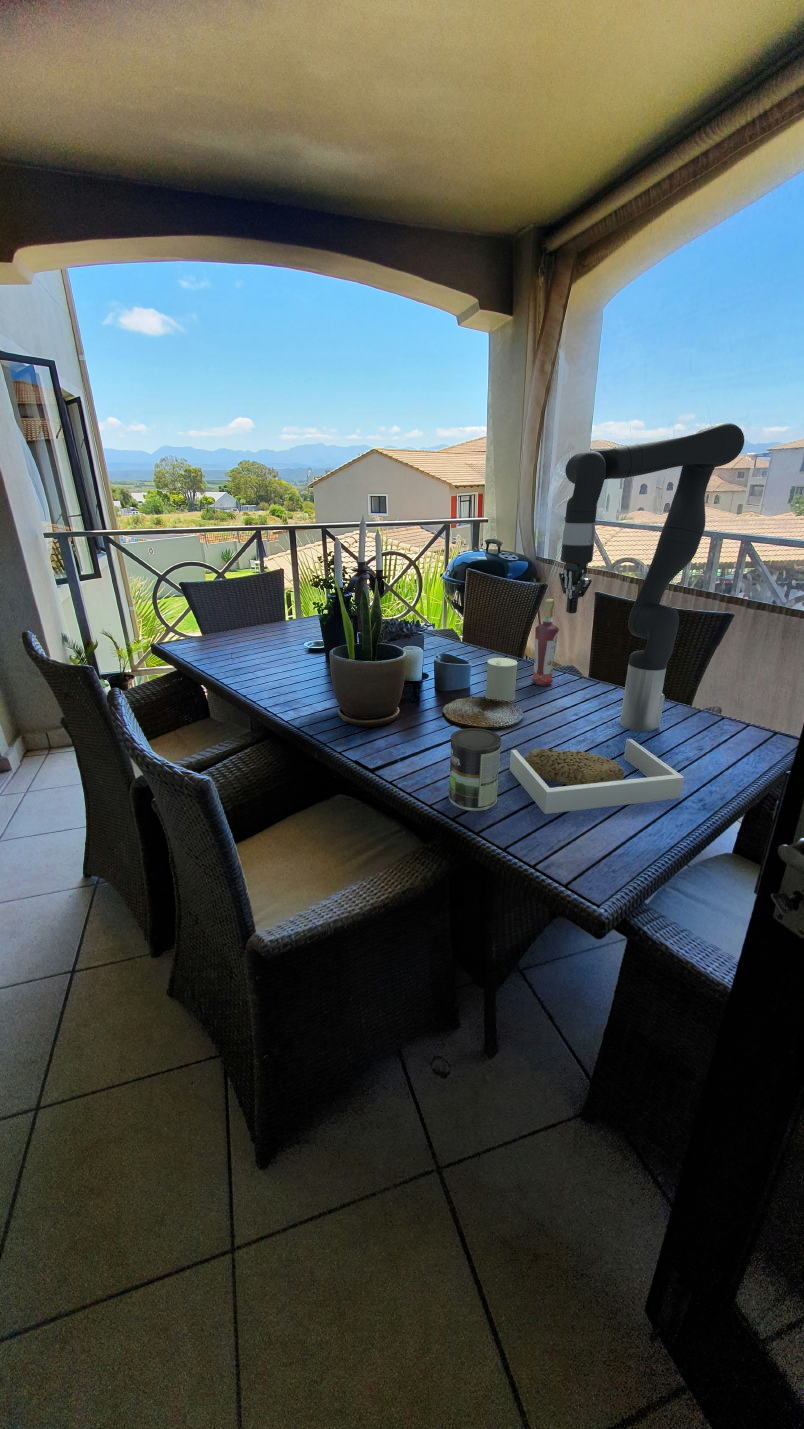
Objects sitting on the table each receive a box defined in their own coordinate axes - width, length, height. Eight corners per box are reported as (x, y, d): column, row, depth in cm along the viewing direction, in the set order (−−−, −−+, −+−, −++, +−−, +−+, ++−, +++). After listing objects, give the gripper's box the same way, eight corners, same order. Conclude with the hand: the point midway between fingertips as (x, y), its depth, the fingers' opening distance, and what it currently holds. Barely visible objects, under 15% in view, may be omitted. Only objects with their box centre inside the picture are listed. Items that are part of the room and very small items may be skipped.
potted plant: (393, 699, 174) (391, 567, 159) (417, 725, 155) (417, 578, 140) (326, 707, 168) (318, 570, 152) (342, 735, 149) (334, 582, 133)
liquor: (548, 689, 181) (557, 602, 171) (527, 685, 185) (534, 600, 175) (556, 682, 187) (565, 598, 176) (535, 679, 191) (542, 596, 180)
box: (628, 757, 135) (631, 738, 134) (680, 798, 118) (684, 777, 116) (509, 769, 130) (510, 750, 128) (544, 814, 112) (547, 792, 111)
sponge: (520, 784, 127) (606, 797, 113) (519, 750, 126) (606, 759, 112) (548, 773, 136) (631, 784, 123) (548, 741, 135) (631, 749, 122)
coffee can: (453, 812, 113) (455, 750, 108) (445, 787, 123) (446, 728, 117) (502, 810, 114) (507, 747, 109) (491, 785, 123) (494, 726, 118)
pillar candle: (480, 698, 174) (481, 661, 169) (493, 690, 181) (495, 654, 176) (507, 704, 169) (509, 666, 164) (519, 695, 176) (522, 659, 171)
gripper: (606, 544, 131) (598, 617, 138) (579, 539, 143) (572, 606, 150) (577, 545, 130) (569, 619, 136) (551, 540, 142) (546, 608, 148)
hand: (571, 612), depth 143 cm, fingers closed
